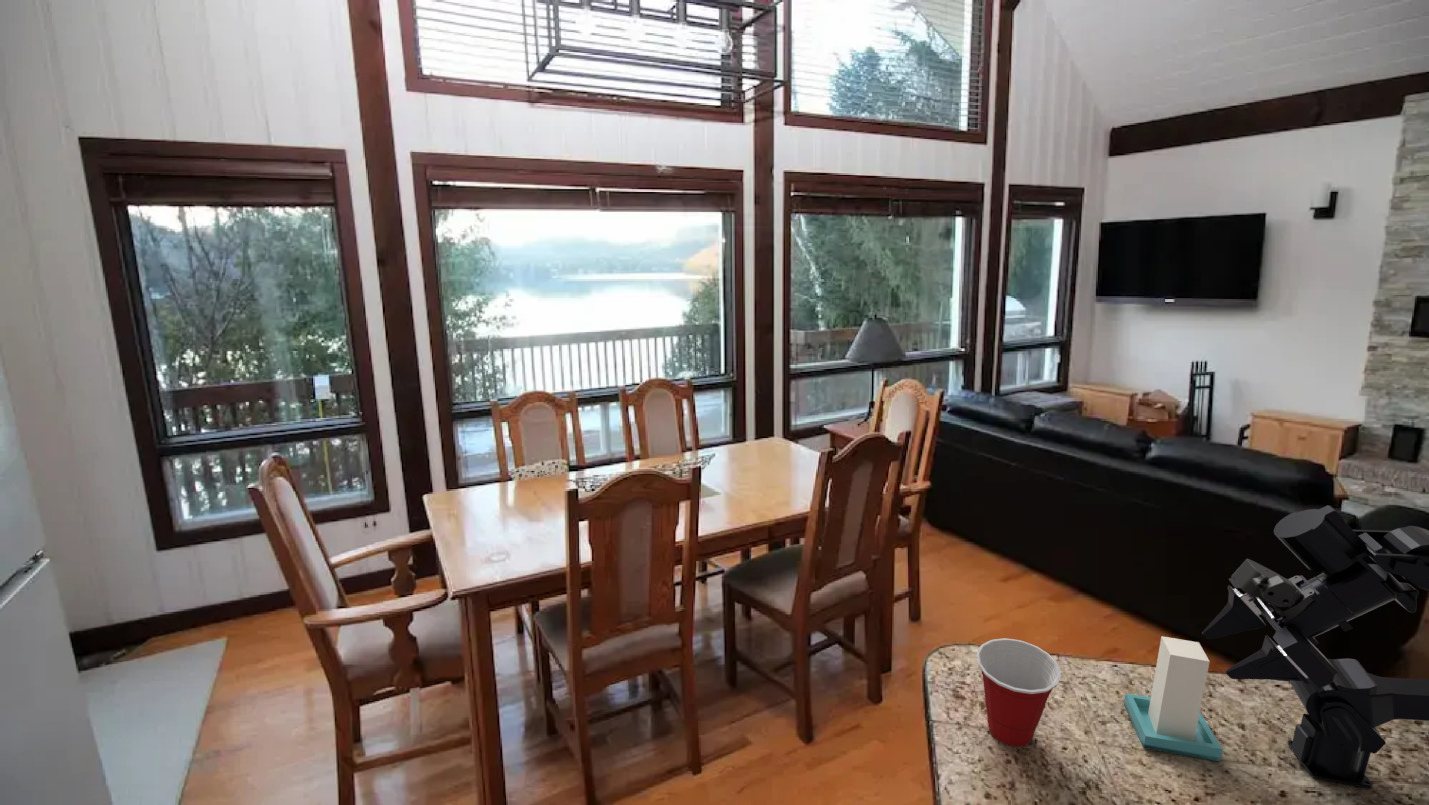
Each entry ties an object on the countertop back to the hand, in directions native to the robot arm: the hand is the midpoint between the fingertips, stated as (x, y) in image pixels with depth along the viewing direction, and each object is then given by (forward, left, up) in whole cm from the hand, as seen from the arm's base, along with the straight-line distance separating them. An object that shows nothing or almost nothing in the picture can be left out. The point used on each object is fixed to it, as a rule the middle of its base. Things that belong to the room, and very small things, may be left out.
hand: (1215, 654), depth 89 cm
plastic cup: (+26, +6, -14) cm, 30 cm away
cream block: (+3, -1, -13) cm, 13 cm away
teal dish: (+4, 0, -14) cm, 14 cm away
